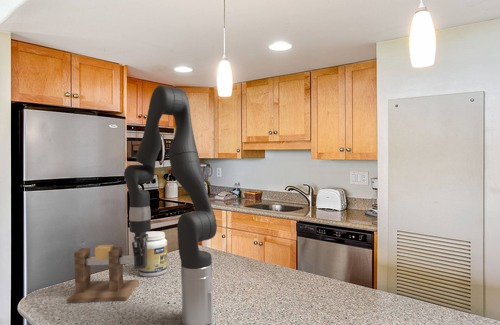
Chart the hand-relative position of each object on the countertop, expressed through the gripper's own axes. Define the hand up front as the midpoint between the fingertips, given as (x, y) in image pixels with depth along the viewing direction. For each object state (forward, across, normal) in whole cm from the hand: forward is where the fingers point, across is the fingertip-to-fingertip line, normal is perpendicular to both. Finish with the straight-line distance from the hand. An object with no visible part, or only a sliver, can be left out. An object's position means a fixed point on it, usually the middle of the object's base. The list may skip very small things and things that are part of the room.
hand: (140, 264), depth 124 cm
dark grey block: (+1, 0, +10) cm, 10 cm away
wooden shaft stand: (+10, 0, +14) cm, 17 cm away
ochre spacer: (-3, 0, +13) cm, 13 cm away
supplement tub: (+10, +20, 0) cm, 22 cm away
